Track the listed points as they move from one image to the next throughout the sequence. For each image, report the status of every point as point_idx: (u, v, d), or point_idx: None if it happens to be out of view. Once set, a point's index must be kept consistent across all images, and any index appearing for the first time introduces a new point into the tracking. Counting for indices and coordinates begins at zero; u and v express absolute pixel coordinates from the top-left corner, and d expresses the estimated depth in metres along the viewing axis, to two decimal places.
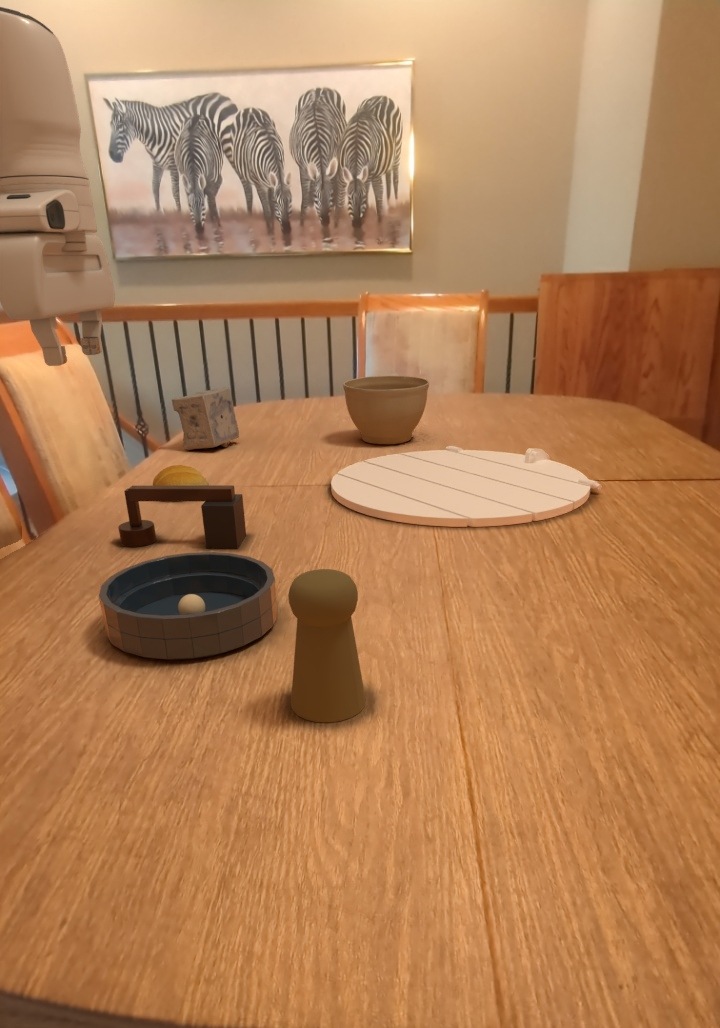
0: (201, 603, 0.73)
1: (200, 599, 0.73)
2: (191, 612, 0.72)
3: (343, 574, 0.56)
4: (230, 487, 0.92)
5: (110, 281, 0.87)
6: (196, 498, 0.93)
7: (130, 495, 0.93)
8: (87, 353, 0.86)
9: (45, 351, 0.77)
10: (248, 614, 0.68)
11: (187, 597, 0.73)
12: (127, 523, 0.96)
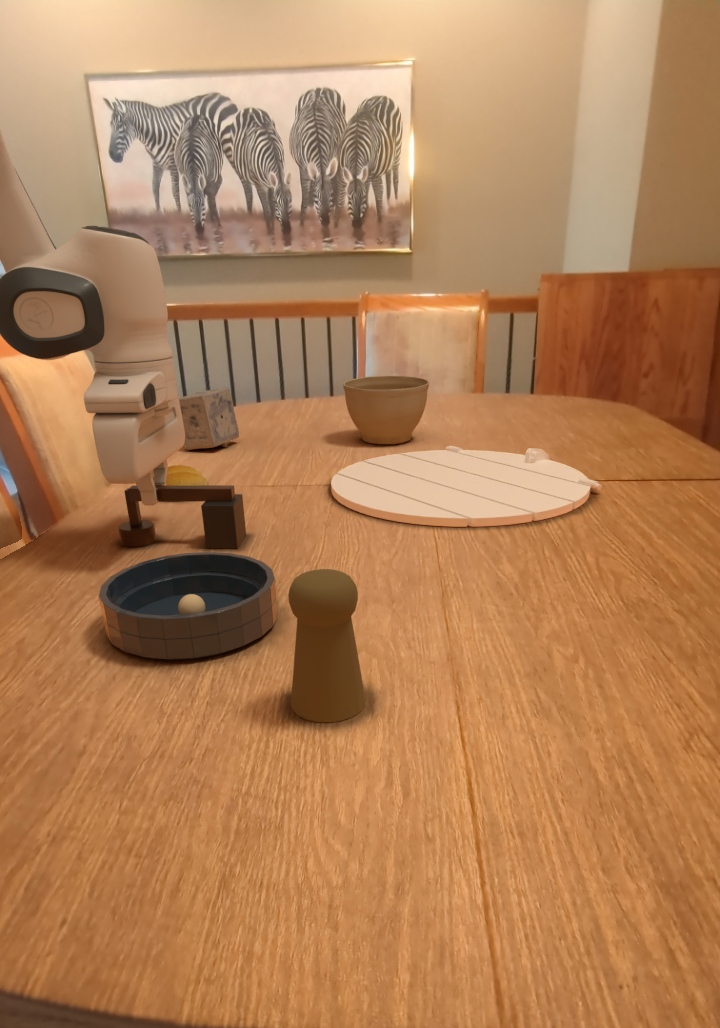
0: (201, 603, 0.73)
1: (200, 599, 0.73)
2: (191, 612, 0.72)
3: (343, 574, 0.56)
4: (230, 487, 0.92)
5: (182, 425, 0.99)
6: (196, 498, 0.93)
7: (130, 495, 0.93)
8: None
9: (143, 494, 0.92)
10: (248, 614, 0.68)
11: (187, 597, 0.73)
12: (127, 523, 0.96)
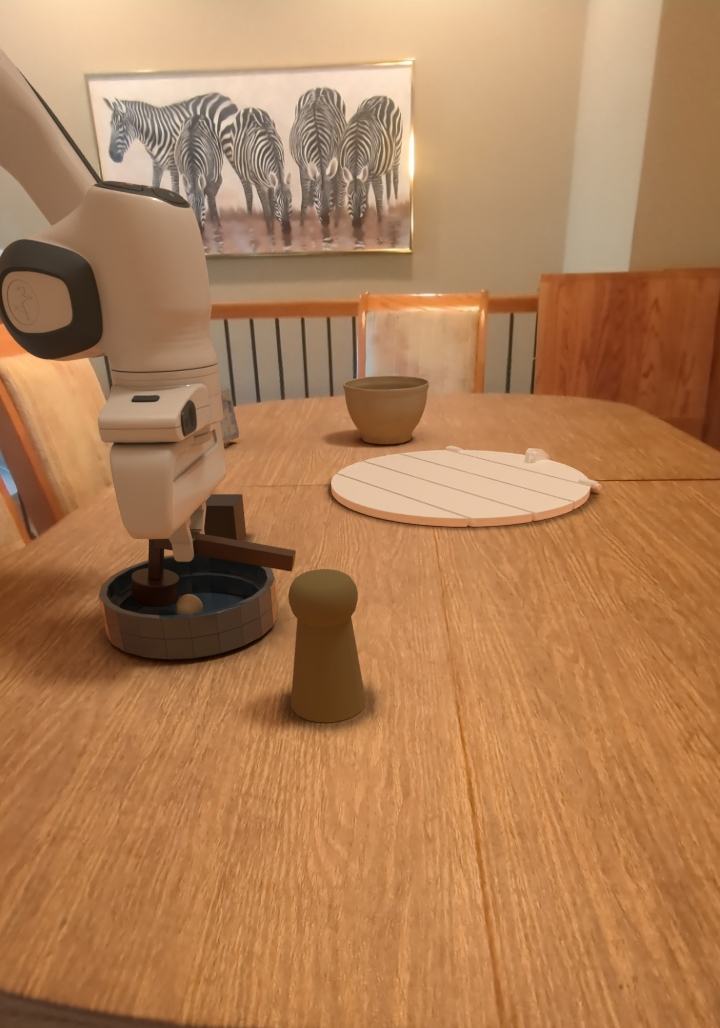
0: (197, 601, 0.73)
1: (195, 598, 0.73)
2: (188, 612, 0.72)
3: (343, 574, 0.56)
4: (292, 553, 0.70)
5: (223, 452, 0.75)
6: (244, 559, 0.70)
7: (156, 540, 0.70)
8: None
9: (176, 547, 0.68)
10: (248, 614, 0.68)
11: (182, 598, 0.73)
12: (143, 572, 0.73)
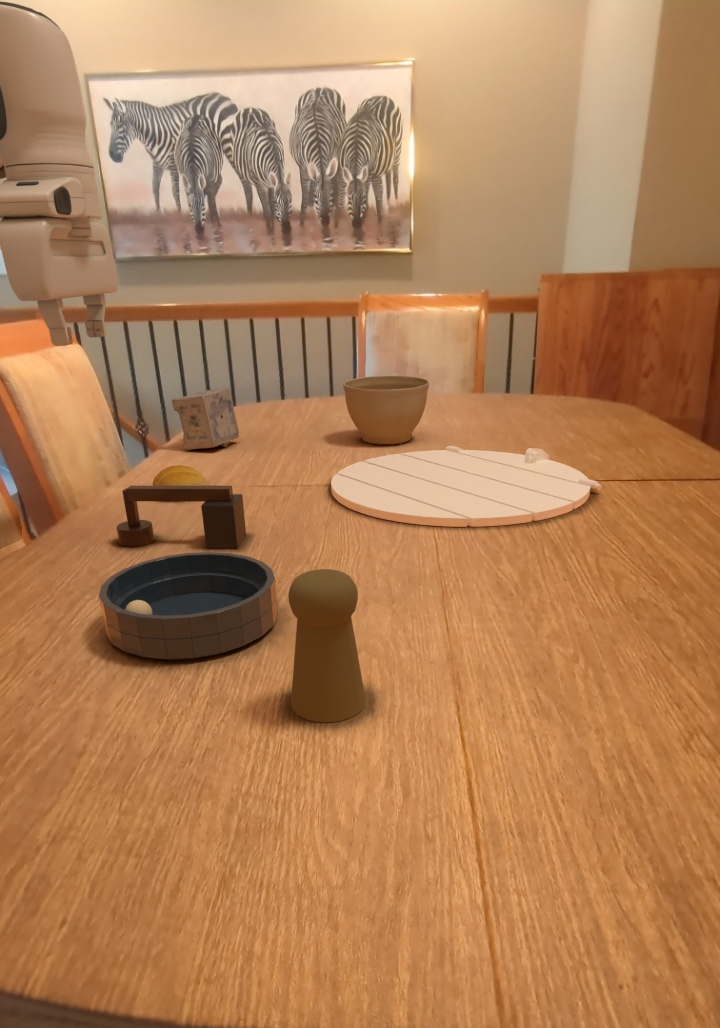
0: None
1: None
2: (144, 601, 0.73)
3: (343, 574, 0.56)
4: (228, 487, 0.92)
5: (113, 267, 0.91)
6: (194, 498, 0.93)
7: (128, 495, 0.93)
8: (91, 335, 0.90)
9: (52, 331, 0.81)
10: (248, 614, 0.68)
11: None
12: (125, 523, 0.96)
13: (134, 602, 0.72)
